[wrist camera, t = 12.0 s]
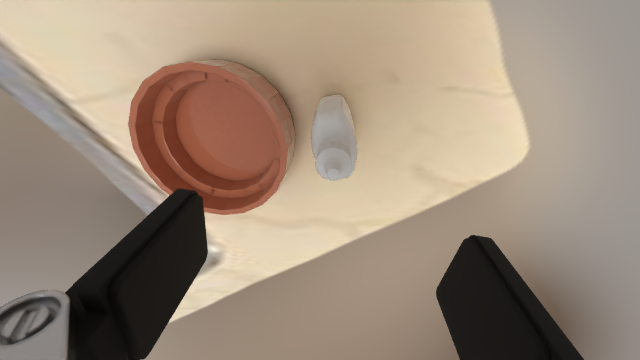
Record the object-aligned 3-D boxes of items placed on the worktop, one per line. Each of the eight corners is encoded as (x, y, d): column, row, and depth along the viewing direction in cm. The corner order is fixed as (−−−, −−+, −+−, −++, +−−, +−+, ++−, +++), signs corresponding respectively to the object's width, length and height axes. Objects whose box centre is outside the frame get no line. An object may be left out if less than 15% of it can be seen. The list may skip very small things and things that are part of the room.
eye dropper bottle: (366, 102, 25) (385, 143, 14) (346, 153, 28) (350, 219, 17) (323, 88, 25) (312, 119, 14) (307, 140, 27) (287, 200, 17)
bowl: (153, 48, 24) (112, 48, 20) (302, 73, 24) (294, 78, 20) (172, 180, 31) (144, 202, 26) (289, 199, 31) (280, 224, 26)
